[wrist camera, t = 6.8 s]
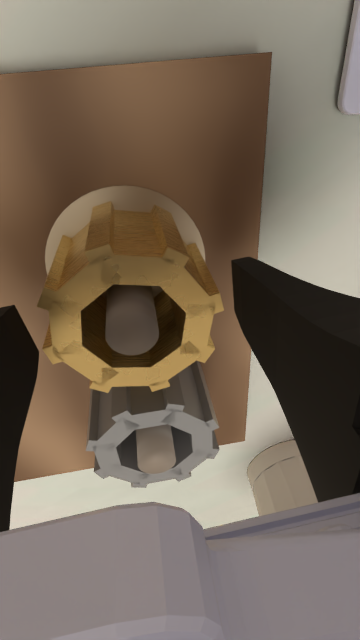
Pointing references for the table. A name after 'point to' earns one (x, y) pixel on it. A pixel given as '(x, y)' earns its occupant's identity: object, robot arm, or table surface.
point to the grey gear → (148, 411)
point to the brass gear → (128, 269)
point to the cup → (280, 479)
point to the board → (130, 195)
